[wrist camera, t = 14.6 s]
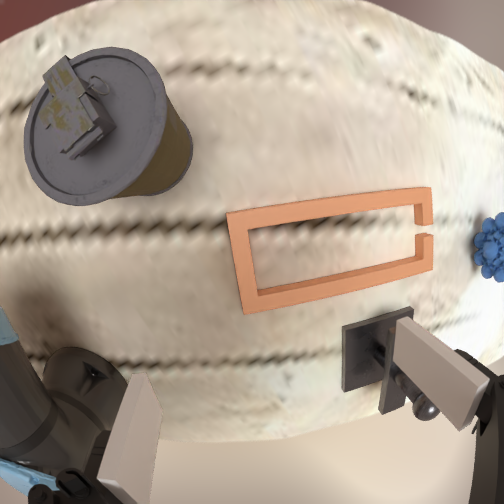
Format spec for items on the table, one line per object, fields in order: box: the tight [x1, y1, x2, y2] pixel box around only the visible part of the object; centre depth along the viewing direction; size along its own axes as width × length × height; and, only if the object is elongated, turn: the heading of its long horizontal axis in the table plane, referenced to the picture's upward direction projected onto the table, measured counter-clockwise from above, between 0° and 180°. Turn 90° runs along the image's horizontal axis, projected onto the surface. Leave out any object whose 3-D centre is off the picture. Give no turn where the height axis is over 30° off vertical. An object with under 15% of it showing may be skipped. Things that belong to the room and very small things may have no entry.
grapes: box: [474, 212, 504, 282], centre depth 33 cm, size 12×7×12 cm, turn 6°
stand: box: [342, 306, 440, 421], centre depth 32 cm, size 12×15×17 cm
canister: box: [24, 47, 193, 206], centre depth 21 cm, size 11×10×20 cm
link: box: [226, 187, 433, 315], centre depth 34 cm, size 28×12×2 cm, turn 99°
